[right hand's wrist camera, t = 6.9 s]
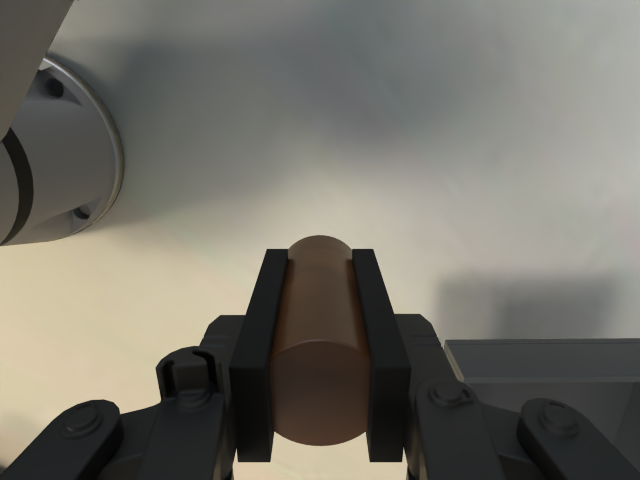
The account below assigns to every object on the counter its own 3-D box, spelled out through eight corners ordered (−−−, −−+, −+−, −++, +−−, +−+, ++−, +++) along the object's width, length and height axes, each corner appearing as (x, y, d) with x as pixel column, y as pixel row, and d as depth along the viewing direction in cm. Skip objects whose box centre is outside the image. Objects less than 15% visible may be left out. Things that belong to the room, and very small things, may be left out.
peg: (281, 307, 17) (257, 448, 10) (278, 235, 16) (248, 341, 9) (358, 306, 17) (384, 446, 10) (360, 233, 16) (391, 339, 9)
